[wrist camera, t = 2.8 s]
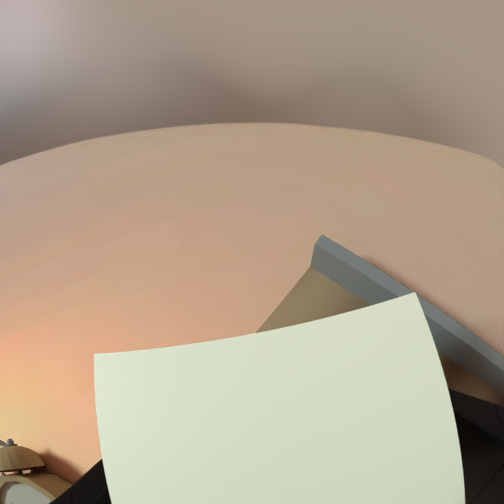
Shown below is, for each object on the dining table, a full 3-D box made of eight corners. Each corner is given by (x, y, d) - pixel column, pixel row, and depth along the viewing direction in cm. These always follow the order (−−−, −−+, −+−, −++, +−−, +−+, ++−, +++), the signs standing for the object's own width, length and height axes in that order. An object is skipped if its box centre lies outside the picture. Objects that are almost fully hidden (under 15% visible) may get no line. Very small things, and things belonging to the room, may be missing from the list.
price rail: (522, 403, 10) (552, 394, 7) (518, 414, 10) (548, 407, 7) (316, 263, 19) (323, 232, 16) (308, 273, 18) (314, 243, 15)
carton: (345, 473, 10) (463, 548, 1) (232, 496, 10) (155, 609, 1) (322, 371, 14) (409, 280, 5) (212, 393, 14) (94, 341, 4)
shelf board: (518, 414, 10) (526, 412, 9) (404, 582, 4) (409, 587, 4) (308, 273, 18) (310, 266, 17) (152, 448, 13) (145, 449, 12)
